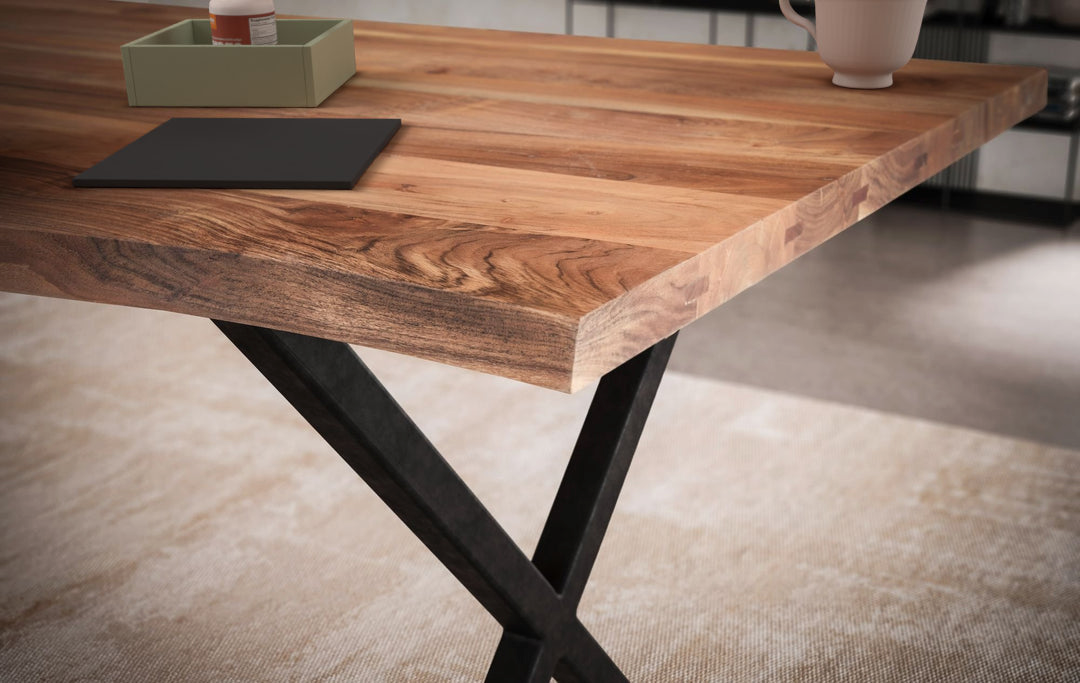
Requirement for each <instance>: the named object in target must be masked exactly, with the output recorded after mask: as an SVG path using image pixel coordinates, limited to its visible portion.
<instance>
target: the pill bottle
mask: <svg viewBox="0 0 1080 683" xmlns="http://www.w3.org/2000/svg"><path fill="white" fill-rule="evenodd" d="M208 12H209V14H208V15H209V19H210V22H211V31H212V40H213V45H278V42H277V31H276V20H275V19H276V10H275V4H274V1H273V0H210V1H209V4H208Z"/></svg>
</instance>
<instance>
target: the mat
mask: <svg viewBox="0 0 1080 683" xmlns="http://www.w3.org/2000/svg"><path fill="white" fill-rule="evenodd" d="M402 124H403V123H402V118H378V117H377V118H376V117H375V118H372V117H371V118H366V117H365V118H360V117H357V118H356V117H355V118H354V117H353V118H350V117H345V118H343V117H342V118H341V117H338V118H337V117H312V118H311V117H171V118H169V119H168V120H166V121H164V122H162V123H161V124H159V125H157V126H156V127H154V128H153V129H151V130H150V131H148V132H145V134H143V135H141V136H140V137H138V138H137V139H135V140H133V141H132V142H130V143H128V144H127V145H125V146H123V147H122V148H120V149H117V151H115V152H113V153H112V154H110V155H109V156H107V157H105V158H104V159H102V160H100V161H99V162H97V163H95V164H94V165H92V166H90V167H88V168H87V169H86V170H84V171H83V172H81V173H79V174H77V175H76V176H74V177H73V178H71V182H72V187H74V188H78V187H80V188H172V189H173V188H174V189H175V188H177V189H178V188H179V189H180V188H181V189H182V188H183V189H186V188H187V189H282V190H283V189H284V190H285V189H286V190H287V189H288V190H291V189H293V190H295V189H297V190H298V189H299V190H352V189H353V187H354V186H355V185H356V184H357V182H358V181H359V180H360V179H361V177H362V176H363V175H364V173H365V172H366V171H367V170H368V169H369V167H370V166H371V165H372V164H373V162H374V161H375V160H376V158H377V157H378V156H379V154H380V153H381V152H382V151H383V150H384V148H386V146H387V144H388V143H389V142H390V140H392V138H393V137H394V136H395V134H396V133H397V132H398V131H399V129H400V128H401V126H402Z"/></svg>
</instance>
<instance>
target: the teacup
mask: <svg viewBox="0 0 1080 683" xmlns="http://www.w3.org/2000/svg"><path fill="white" fill-rule="evenodd" d="M806 1H807V2H809V1H811V0H806ZM778 2H779V3H778V4H779V7H780V10H781V12H782V15H784V17H785V18H786V19H787V20H788V21H789V22H791V23H792V24H794V25H795V26H799V27H800V28H802V29H805V30H806V31H807V32H808V33H809V34H810V35H811V36H812V38H813V39H814V41H815V43H816V45H817V46H816V47H817V51H818V56H819V58H820V60H821V61H822V62H823V63H824V64H825V65H826V66H827V67H828V68H830V69H832V71H834V72H833V73H834V74H833V77H832V84H834V85H836V86H837V87H838V86H839V87H843V88H849V89H861V90H863V89H864V90H867V89H868V90H872V89H873V90H874V89H875V90H876V89H884V88H889V87H890V86H892V85H893V74H894V72H896V71H898V70H900V69H902V68H903V67H904V66H905V65H907V64H908V63H909V61H910V60H911V59H912V57H913V55H914V52H915V49H916V47H917V44H918V40H919V36H920V31H921V27H922V23H923V18H924V14H925V9H926V7H927V2H928V0H814V6H815V25H814V23H813V22H811V21H810V20H808V19H807V18H805V17H803V16H801V15H800V14H798V13H797V12H796V11H795V10H794V9H793V7H792V5H791V4H790V0H779V1H778Z"/></svg>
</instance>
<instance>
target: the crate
mask: <svg viewBox="0 0 1080 683" xmlns="http://www.w3.org/2000/svg"><path fill="white" fill-rule="evenodd" d="M275 20H276V31H277V42H278V45H213V40H212V31H211V22H210V18H186V19H184V20H182V21H179V22H177V23H174V24H172V25H170V26H167V27H165V28H161V29H160V30H157V31H154V32H152V33H149V34H147V35H144V36H142V37H140V38H138V39H135V40H132V41H130V42H127V43H124V44H122V45H120V54H121V59H122V67H123V74H124V79H125V86H126V94H127V100H128V106H129V107H162V108H163V107H164V108H165V107H166V108H167V107H174V108H176V107H177V108H178V107H179V108H180V107H183V108H185V107H187V108H188V107H192V108H193V107H195V108H198V107H199V108H200V107H201V108H203V107H204V108H205V107H206V108H229V107H230V108H317V107H318V106H319V105H321V103H323V102H324V101H325V100H326V99H327V98H328V97H330V96H331V95H332V94H333V93H335V92H336V91H337V90H338V89H339V88H340V87H341V86H343V84H345V83H346V82H347V81H349V79H350V78H352V77H353V76H354V75H355V74H357V62H356V61H357V60H356V59H357V58H356V47H355V46H356V45H355V33H354V32H355V31H354V19H353V18H275Z"/></svg>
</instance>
